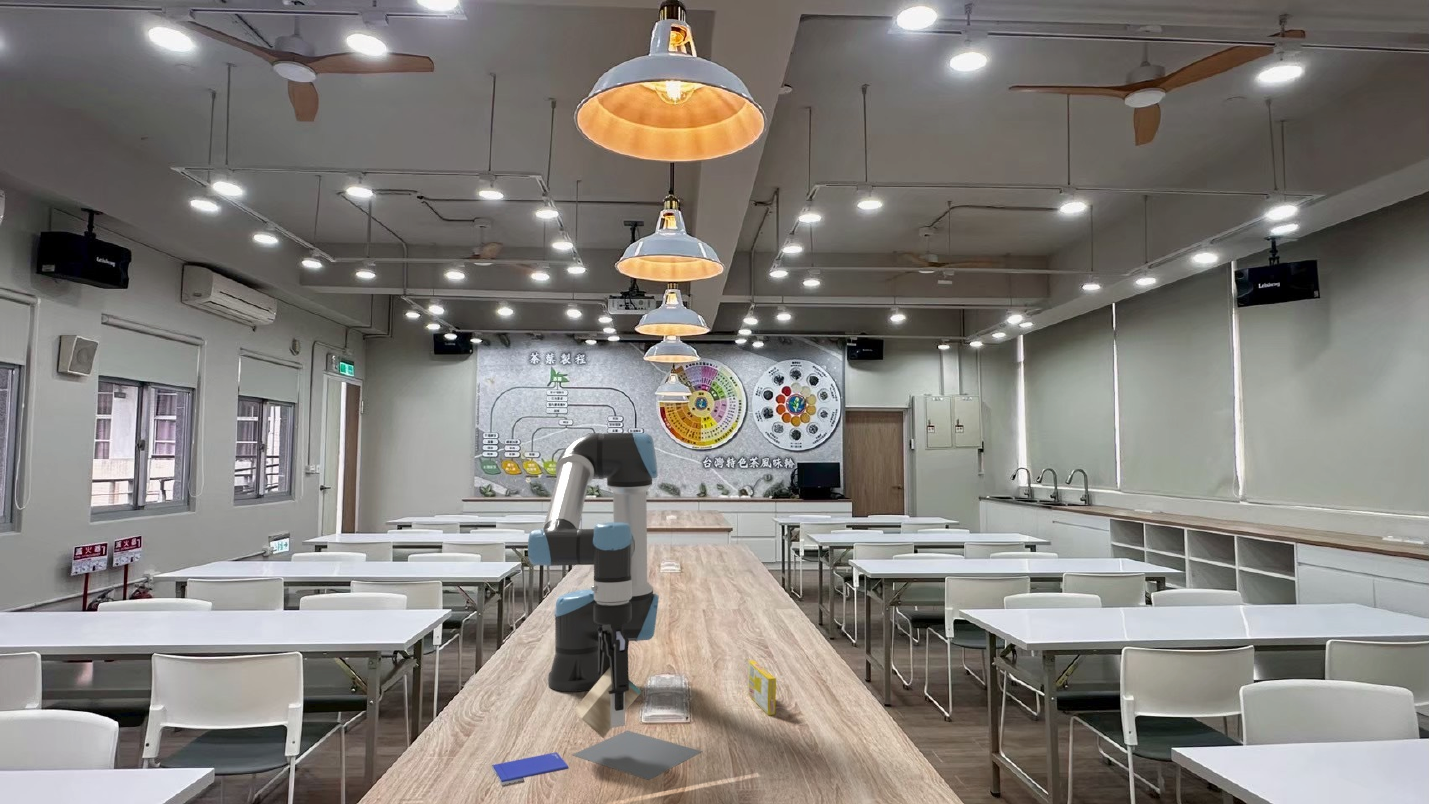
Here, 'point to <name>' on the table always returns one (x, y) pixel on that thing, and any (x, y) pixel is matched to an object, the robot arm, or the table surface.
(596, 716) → the maple block
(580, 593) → the robot arm
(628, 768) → the slate mat
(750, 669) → the candy box
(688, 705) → the table surface
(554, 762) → the hard drive
